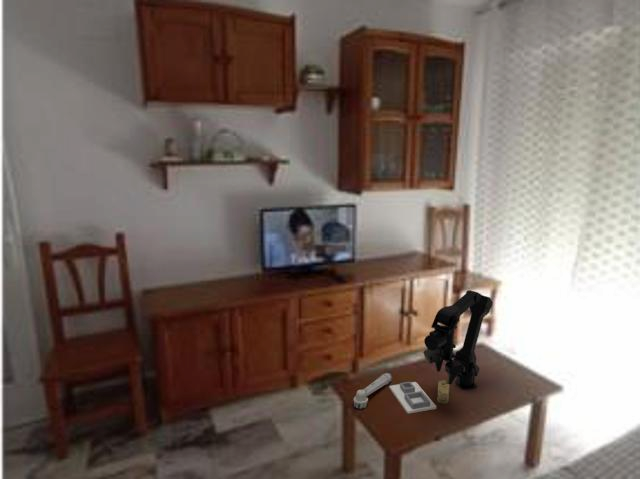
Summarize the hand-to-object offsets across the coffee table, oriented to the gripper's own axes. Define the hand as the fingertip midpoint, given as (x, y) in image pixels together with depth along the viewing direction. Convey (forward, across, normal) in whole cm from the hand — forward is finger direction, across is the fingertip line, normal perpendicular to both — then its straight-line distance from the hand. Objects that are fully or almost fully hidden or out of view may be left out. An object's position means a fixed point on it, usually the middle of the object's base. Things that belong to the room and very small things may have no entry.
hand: (444, 377), depth 173 cm
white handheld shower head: (+11, -12, -25) cm, 30 cm away
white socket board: (+10, -5, -11) cm, 16 cm away
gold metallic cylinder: (+10, 0, 0) cm, 10 cm away
